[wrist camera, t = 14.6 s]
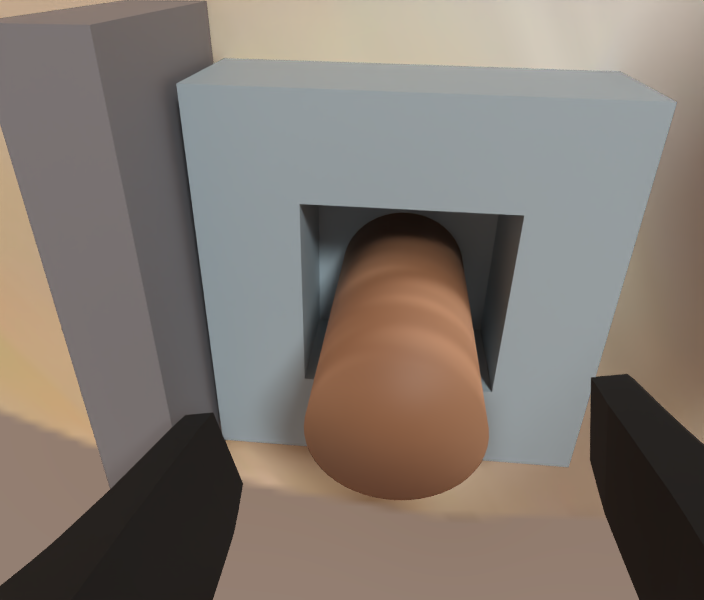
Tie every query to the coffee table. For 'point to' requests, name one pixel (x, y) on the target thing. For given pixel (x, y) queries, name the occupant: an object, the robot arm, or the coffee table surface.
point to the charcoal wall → (115, 206)
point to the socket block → (427, 200)
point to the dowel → (399, 366)
